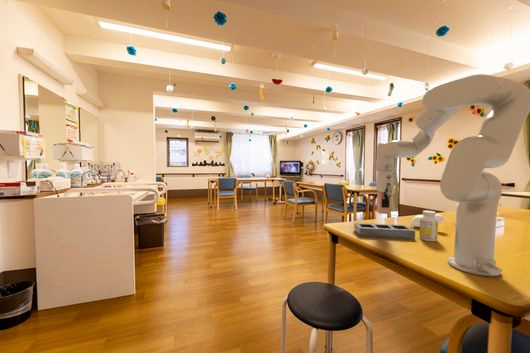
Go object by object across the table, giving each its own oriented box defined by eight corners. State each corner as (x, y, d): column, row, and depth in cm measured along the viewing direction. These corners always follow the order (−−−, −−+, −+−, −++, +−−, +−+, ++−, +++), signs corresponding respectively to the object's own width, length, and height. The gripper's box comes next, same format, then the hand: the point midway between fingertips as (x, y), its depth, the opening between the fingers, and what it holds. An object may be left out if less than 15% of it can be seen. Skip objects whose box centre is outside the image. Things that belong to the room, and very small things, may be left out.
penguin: (412, 233, 121) (444, 229, 110) (406, 218, 124) (437, 212, 112) (417, 230, 127) (449, 226, 116) (411, 215, 129) (442, 210, 118)
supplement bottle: (431, 237, 105) (432, 210, 104) (440, 242, 98) (442, 213, 98) (416, 236, 106) (417, 209, 105) (424, 241, 99) (425, 212, 98)
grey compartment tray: (414, 239, 102) (415, 230, 102) (359, 236, 105) (359, 228, 105) (404, 232, 112) (404, 225, 111) (354, 230, 115) (354, 222, 115)
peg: (389, 214, 106) (390, 193, 105) (379, 213, 106) (380, 192, 106) (386, 212, 110) (386, 191, 109) (376, 211, 111) (377, 191, 110)
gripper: (401, 169, 98) (399, 210, 99) (386, 168, 115) (384, 203, 116) (383, 168, 99) (381, 209, 100) (370, 168, 116) (369, 203, 117)
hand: (383, 206), depth 108 cm, fingers closed on peg, 4 cm apart
